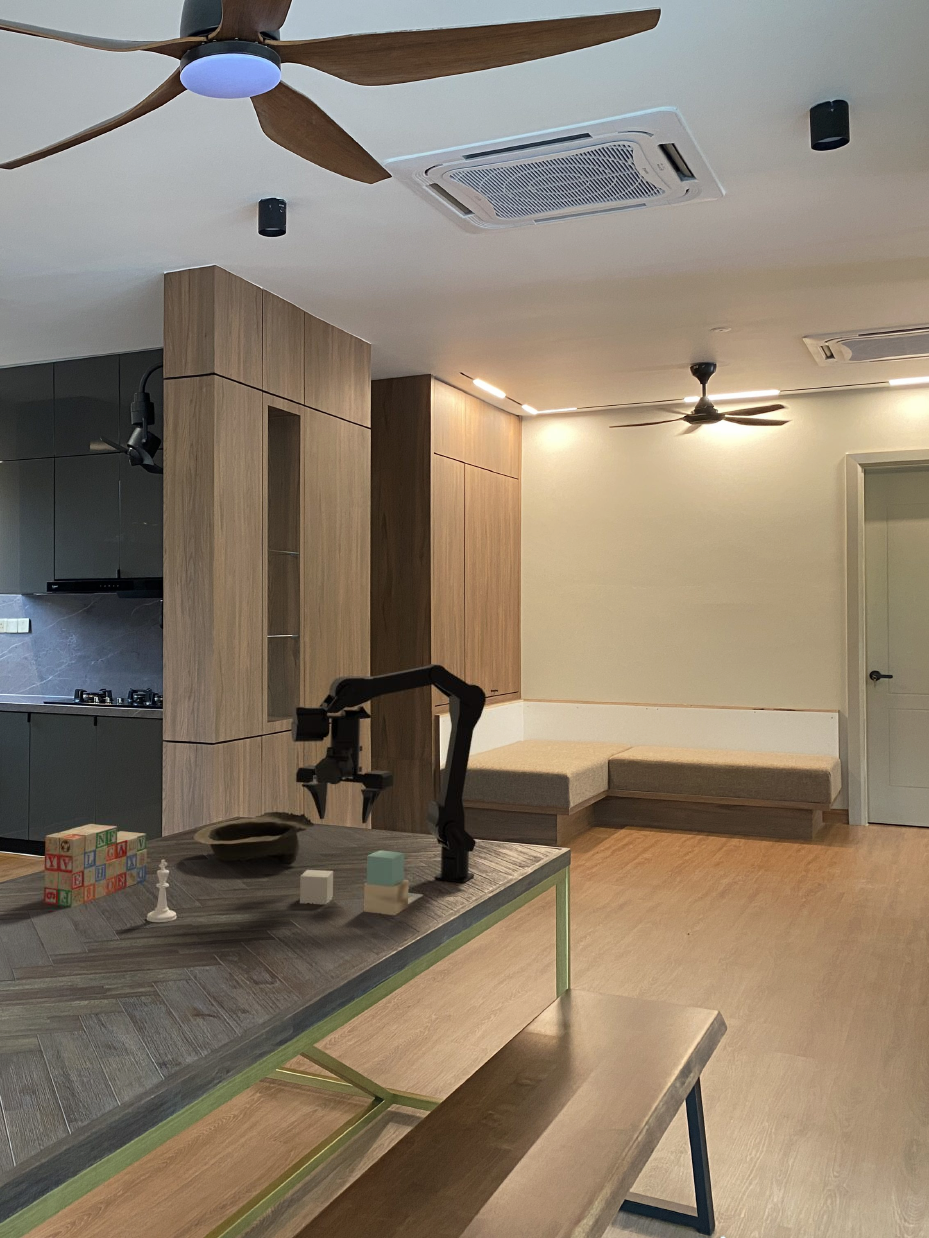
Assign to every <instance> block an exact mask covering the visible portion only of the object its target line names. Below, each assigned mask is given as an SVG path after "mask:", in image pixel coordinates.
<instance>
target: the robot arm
mask: <svg viewBox="0 0 929 1238" xmlns="http://www.w3.org/2000/svg"><path fill="white" fill-rule="evenodd" d="M427 686H433V687H434V688H435V689H436V690H437V691H439V692H440V693H441V694H443V695H444V696H445V697H447V698H448V712H449V717H450V723H451V727H450V728H451V729H450V733H449V741H448V746H447V747H448V748H447V752H446V758H445V764H444V770H443V777H442V781H441V790H440V794H439V796H438V797H437V800H436V801H435V802H434V801H431V800H430V801H429V802H428V813H427V816H426V818H425V821H426V822H427V827H428V830H429V831H430V833H431V835H433V836H434V837H435V838H436V842H437V844H438V845H440V873H438V874H436V875H435V876H433V877H434V880H437V881H438V880H439V881H445V882H446V881H449V882H455V883H456V882H457V883H465V882H467V881H469V880H470V879H471V878H473V877H474V876H475V873H472V872H469V871H470V866H469V865H470V853H471V852H473V851H474V848H475V846H476V843H477V841H476V840H475V839H474V838H473V837H472V835H471V834H469V832H467V831H466V812H465V807H464V802H463V801H464V800H463V797H464V796H463V795H464V789H465V784H466V783H465V782H466V779H467V772H468V764H469V760H470V759H469V758H470V753H471V747H472V741H473V734H474V730H475V728H476V726H477V724H478V722H479V720H480V719H481V717H482V715H483V711H484V708H485V706H486V701H487V695H486V693H485V691H484V690H483V688H481V686H480V685H476V684H473V683H468V682H466V681H465V680H463V678H462V679H461V678H460V677H458V676H457V675H455V674H454V673H451V672H450V671H449V670H448V669H446V668H445V667H444V666H443V665H440V664H435V663H430V664H428V665H426V666H420V667H416V668H411V669H405V670H400V671H396V672H389V673H385V674H381V675H375V676H366V675H365V676H358V675H357V676H356V675H355V676H340V677H337V678H335V679H333V681H332V683H331V684H330V685H329V691H328V692H329V693H328V694H327V695H326V697H325V698H324V699H323V701H322V702H320V704H319V706H318V707H317V706H316V707H315V706H314V707H312V706H311V707H309V706H308V707H305V706H301V705H300V706H294V708H293V709H294V711H293V715H292V720H291V722H290V733H291V739H292V740H291V741H292V742H293V743H308V742H309V743H311V742H312V743H313V742H315V743H318V742H319V743H320V742H324V739H325V738H327V737H329V734H330V743H329V745H330V746H327V748H326V754H325V757H324V758H322V759H321V760H319V762H317V764H316V765H313V764H309V765H305V766H304V765H303V766H300V767H298V769H297V770H296V772H295V783H301V787H302V788H305V789H307V791H308V792H309V793H310V795H311V797H312V799H313V801H314V804H315V805H314V806H315V808H316V811H317V814H318V817H319V819H320V820H325V816H326V809H327V793H328V784H331V785H338V784H340V783H341V782H343V783H345V782H346V783H356V784H357V783H358V784H362V785H363V787H364V788H362V789H361V794H362V810H361V821H362V822H361V823H362V824H366V823H367V821H368V819H369V817H370V815H371V813H372V810H373V808H374V806H375V804H376V802H377V800H378V798H379V796H380V794H381V793H382V792H383V791H387V788H390V787H392V786H394V776H393V774H392V773H391V771H389V770H388V771H387V770H375V769H374V770H371V771H370V770H369V771H366V772H364V773H362V772H363V771H362V770H363V766H361V765H360V753H361V752H363V745H361V744H360V741H361V739H360V738H361V720H362V719H364V720H365V719H371V717H372V716H371V713H369V712H368V711H367V710H366V709H365V708H364V706H362V705H363V704H365V703H367V702H369V701H371V700H374V699H375V698H377V697H380V696H383V695H388V694H393V693H397V692H398V693H399V692H402V691H409V690H412V689H417V688H422V687H427ZM357 706H358V707H357ZM355 707H357V708H355ZM346 708H355V709H346ZM338 713H339V714H338Z"/></svg>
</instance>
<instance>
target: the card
mask: <svg viewBox="0 0 929 1238" xmlns="http://www.w3.org/2000/svg"><path fill="white" fill-rule="evenodd" d="M423 896H424V894H421V893H413V892H412V893H411V892H408V905H410V904H412V903H413V902H415V901H417V900H418V899H420V898H422V897H423Z"/></svg>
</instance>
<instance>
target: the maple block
mask: <svg viewBox="0 0 929 1238" xmlns="http://www.w3.org/2000/svg"><path fill="white" fill-rule="evenodd" d="M409 883H410V881H409V879H404V881H402V882H400V883H398V884H396V885H394V886H392V887H389V886H381V885H374V884H367V882H365V883H364V890H363V891H364V897H363V898H364V899H363V901H364V902H363V912H366V913H374V914H380V913H381V915H389V916H396V915H398V914H400V913H401V912H403V911H404V910H406V909H407V908H408V907H409V904H408V893H409Z"/></svg>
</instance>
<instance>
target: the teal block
mask: <svg viewBox="0 0 929 1238" xmlns="http://www.w3.org/2000/svg"><path fill="white" fill-rule="evenodd" d="M366 857H367V858H366V883H367V884H374V885H381V886H389V887H392V886H394V885H396V884H398V883H400V882H402V881H404V880H405V852H397V851H389V850H388V851H387V850H380V849H379V850H377V851H375V852H373V853H370V854H368V855H367V856H366Z"/></svg>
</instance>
